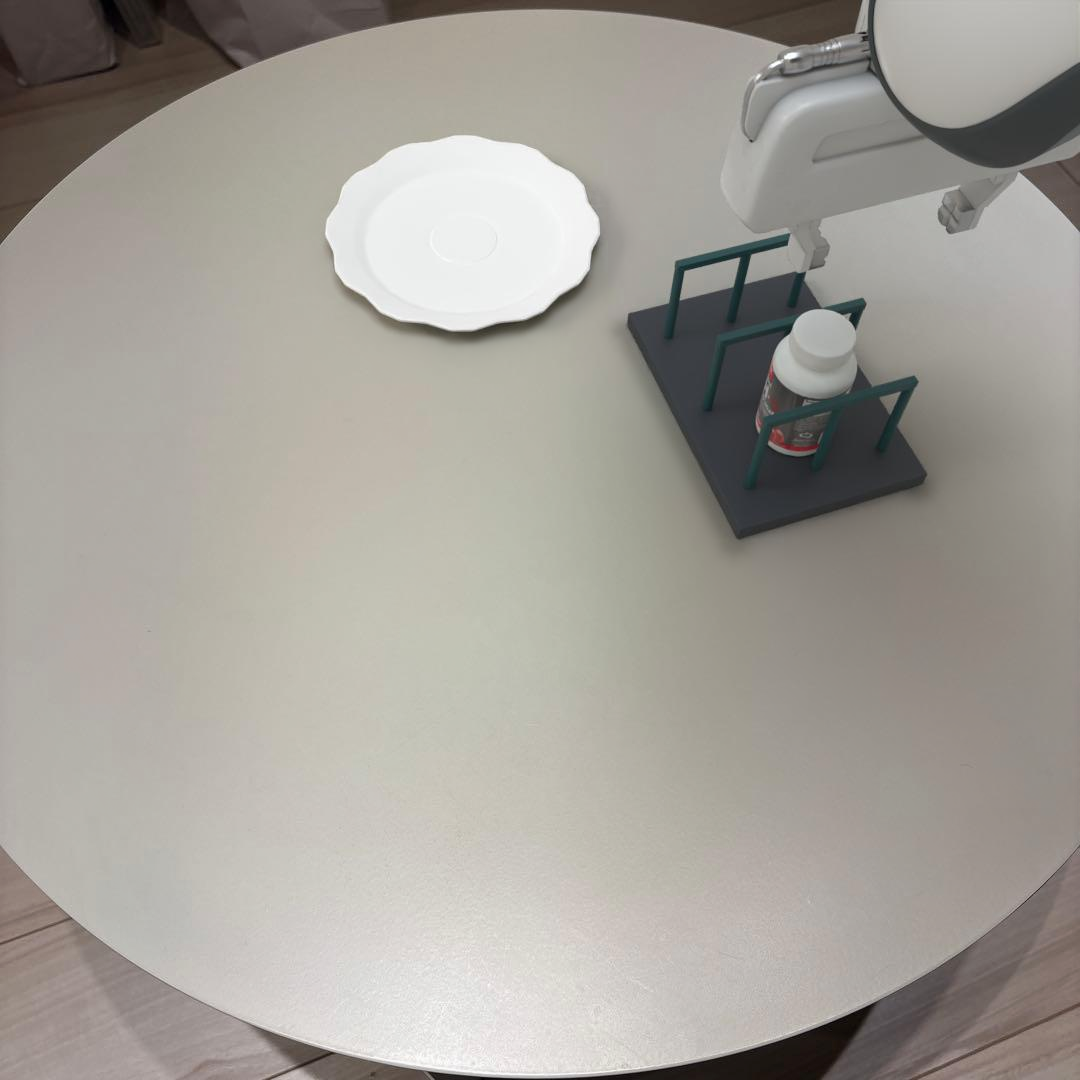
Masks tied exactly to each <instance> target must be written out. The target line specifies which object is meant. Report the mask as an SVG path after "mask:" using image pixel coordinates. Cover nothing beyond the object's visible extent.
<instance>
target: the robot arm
mask: <svg viewBox="0 0 1080 1080" xmlns="http://www.w3.org/2000/svg"><path fill="white" fill-rule="evenodd" d="M740 106H741V107H740V111H739V114H738V117H737V120H736V122H735V125H734V127H733V131H732V134H731V137H730V140H729V143H728V147H727V150H726V154H725V157H724V161H723V164H722V169H721V174H720V178H719V179H720V181H719V184H720V189H721V192H722V194H723V196H724V199H725V200H726V202H727V204H728V206H729V207H730V209H731V210H732V212H733V213H734V214H735V216H736V217H737V219H738V220H739V221H740V222H741V224H742V225H744V226H745V227H746V228H747V229H748V230H749V231H750V232H752V233H754V234H757V235H759V234H765V233H770V232H773V231H777V230H782V229H786V228H787V229H788V231H789V233H791V234H790V238H789V242H788V246H786V257H787V260H788V261H789V263H790V264H791V266H792V268H793V269H794V272H795V271H796V272H797V273H802V272H806V271H807V272H809V271H812V270H817V269H820V268H823V267H825V266H826V262H827V261H826V260H825V259H826V258H827V257H828V256H829V252H830V248H831V245H830V243H829V242H828V241H827V239H826V237H823V236H821V234H822V231H821V230H820V229H819V228H820V227H821V223H822V220H823V219H826V218H830V217H835V216H839V215H843V214H847V213H851V212H855V211H859V210H863V209H868V208H872V207H877V206H880V205H884V204H887V203H891V202H896V201H900V200H904V199H907V198H912V197H916V196H920V195H925V194H929V193H932V192H937V191H940V190H941V191H942V190H945V189H950V188H952V187H957V186H959V187H958V188H957V189H953V190H950V191H946V192H945V193H944V195H943V197H942V200H941V206H940V207H938V210H937V220H938V222H939V223H940V225H941V226H944V227H945V231H946V233H947V234H948V235H954V234H958V233H962V232H967V231H971V230H974V229H976V228H977V226H978V224H979V221H980V220H981V217H982V215H983V212H984V210H985V208H987V207H989V205H991V204H992V203H993V202H994V201H995V200H996V199H997V198H998V197H999V196H1000V195H1001V194H1002V193H1003V192H1004V191H1005V190H1007V189H1008V188H1009V186H1010V185H1011V184H1013V182H1015V181H1016V178H1017V177H1018V174H1019V172H1020V171H1023V170H1026V169H1030V168H1035V167H1039V166H1042V165H1046V164H1051V163H1055V162H1058V161H1063V160H1068V159H1072V158H1074V157H1075V156H1076V155H1078V154H1079V153H1080V0H862V2H861V6H860V9H859V13H858V17H857V21H856V23H855V27H854V33H850V34H845V35H840V36H837V37H833V38H830V39H828V40H825V41H822V42H818V43H813V44H799V45H793V46H791V47H787V48H785V49H783V50H782V51H781V50H780V52H779V53H778V54H777V57H776V59H775V60H773V61H772V62H770V63H768V64H767V65H765V66H764V67H763V68H762V69H760V70H759V71H758V72H757V73H756V74H754V75H752V76H751V77H750V78H749V79H748V81H747V82H746V84H745V88H744V90H743V95H742V101H741V105H740ZM807 272H806V273H807Z"/></svg>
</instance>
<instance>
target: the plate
mask: <svg viewBox="0 0 1080 1080" xmlns="http://www.w3.org/2000/svg"><path fill="white" fill-rule="evenodd" d="M324 233H325V234H324V236H325V239H326V241H327V243H328V245H329V247H330V248H331V249H330V250H332V254H333V263H334V265H333V266H334V271H335V274H336V275H337V276H338V278H339V279H340V281H341V283H342V284H343V285H344V286H345V287H346V288H348V289H350V290H352V291H353V292H355V293H357V294H359V295H360V296H362V297H364V298H365V299H366V300H367V301H368V302H369V303H370V304H371V305H372V306H373V308H375V309H376V311H378V312H379V314H382V315H384V316H386V317H389V318H391V319H393V320H396V321H398V322H402V323H414V324H424V325H429V326H431V327H435V328H438V329H442V330H445V331H447V332H476V331H479V330H482V329H485V328H488V327H492V326H494V325H495V326H496V325H498V324H505V323H506V324H507V323H515V322H524V321H527V320H530V319H531V318H534V317H536V316H538V315H541V314H542V313H545V312H546V311H547V310H548V309H549V307H550V306H551V305H553V304H554V303H555V301H556V300H557V299H558V298H559V297H561V296H562V295H564V294H566V293H568V292H570V291H571V290H573V289H574V288H576V287H578V286H580V284H581V283H582V282H583V280H584V279H585V277H586V276H587V275H588V273H589V272H590V271H591V270H590V269H591V260H592V253H593V250H594V249H595V246H596V244H597V242H598V241H599V238H600V236H601V225H600V217H599V216H598V214H597V213H596V211H595V210H594V209H593V207H592V205H591V204H590V202H589V199H588V194H587V192H586V188H585V185H584V183H582V181H581V180H580V179H579V178H578V177H577V176H576V175H575V174H574V173H573V172H572V171H569V170H568V169H566V168H564V167H562V166H560V165H558V164H556V163H554V162H553V161H551V159H549V158H548V157H547V156H546V155H544V154H543V153H542V152H541V151H540V150H538V149H536V148H533V147H531V146H528V145H525V144H523V143H518V142H509V141H506V142H505V141H497V140H493V139H489V138H486V137H483V136H478V135H471V134H470V135H469V134H468V135H467V134H466V135H465V134H464V135H462V134H461V135H460V134H459V135H457V134H455V135H450V136H447V137H443V138H440V139H436V140H432V141H423V142H411V143H406V144H403V145H401V146H398V147H395V148H393V149H390V150H389V151H387V152H386V153H385V154H384V155H382V156H381V157H380V158H379V159H378V160H377V161H376V162H374V163H373V164H371V165H369V166H366V167H365V168H363V169H361V170H359V171H356V172H354V173H353V174H352V175H351V177H350V178H349V179H348V180H346V181H345V183H344V184H343V185H342V187H341V191H340V194H339V197H338V201H337V204H336V205H335V206H334V208H333V210H332V211H331V213H330V214H329V215H328V216H327V218H326V223H325V232H324Z"/></svg>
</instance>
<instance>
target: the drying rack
mask: <svg viewBox="0 0 1080 1080" xmlns="http://www.w3.org/2000/svg"><path fill="white" fill-rule="evenodd" d="M790 234H791V232H788V233H784V234H779V235H775V236H772V237H768V238H763V239H759V240H755V241H751V242H746V243H742V244H738V245H735V246H731V247H726V248H722V249H718V250H714V251H710V252H706V253H702V254H698V255H693V256H689V257H685V258H682V259H677V260H675V261H674V271H673V276H672V283H671V289H670V294H669V301H668V303H664V304H660V305H655V306H652V307H648V308H644V309H641V310H637V311H632V312H629V313H628V314H627V322H626V324H627V327H628V329H629V331H630V333H631V334H632V337H633V339H634V341H635V343H636V344H637V346H638V348H639V350H640V352H641V354H642V356H643V358H644V360H645V362H646V364H647V366H648V367H649V370H650V371H651V374H652V375H653V378H654V380H655V381H656V383H657V385H658V387H659V389H660V390H661V393H662V395H663V397H664V399H665V401H666V402H667V404H668V406H669V409H670V410H671V412H672V414H673V417H674V418H675V420H676V422H677V424H678V426H679V428H680V430H681V432H682V434H683V436H684V438H685V440H686V441H687V444H688V445H689V447H690V449H691V452H692V453H693V455H694V457H695V459H696V461H697V463H698V465H699V467H700V469H701V470H702V473H703V475H704V477H705V478H706V480H707V482H708V484H709V486H710V488H711V490H712V492H713V494H714V496H715V498H716V500H717V502H718V504H719V505H720V507H721V510H722V511H723V514H724V516H725V517H726V519H727V521H728V523H729V525H730V527H731V529H732V531H733V533H734V535H735V537H736V539H741V538H745V537H749V536H752V535H755V534H758V533H761V532H765V531H768V530H772V529H775V528H778V527H782V526H785V525H788V524H792V523H795V522H796V523H797V522H799V521H803V520H805V519H809V518H813V517H815V516H819V515H822V514H826V513H830V512H832V511H835V510H839V509H843V508H846V507H849V506H852V505H856V504H860V503H864V502H866V501H870V500H873V499H876V498H879V497H883V496H886V495H890V494H893V493H896V492H900V491H903V490H907V489H909V488H913V487H917V486H920V485H923V484H924V482H925V480H926V479H927V477H928V472H927V471H926V469H925V467H924V466H923V464H922V463H921V462H920V460H919V458H918V456H917V455H916V453H915V452H914V450H913V449H912V447H911V445H910V444H909V442H908V441H907V439H906V438H905V436H904V434H903V433H902V431H901V430H900V427H898V425H899V423H900V421H901V419H902V417H903V415H904V413H905V410H906V408H907V406H908V404H909V403H910V400H911V398H912V395H913V393H914V391H915V389H916V388H917V386H918V385H919V380H918V378H917V376H915V375H910V376H906V377H902V378H899V379H896V380H893V381H892V380H891V381H889V382H885V383H881V384H878V385H874V386H872V384H871V383H870V380H869V379H868V378H867V377H866V374H865V373H864V372H863V370H862V368H861V367H860V366H859V364H858V363H857V373H856V377H855V380H854V382H853V385H852V387H851V390H850V392H849V393H848V394H845V395H841V396H838V397H834V398H830V399H827V400H823V401H819V402H816V403H812V404H809V405H805V406H801V407H798V408H794V409H791V410H787V411H783V412H780V413H776V414H772V415H769V416H765V417H763V421H762V426H761V429H760V433H758V430H757V427H756V415H757V411H758V407H759V404H760V400H761V397H762V393H763V390H764V386H765V383H766V380H767V376H768V373H769V369H770V366H771V362H772V359H773V355H774V352H775V350H776V348H777V346H778V344H779V343H780V342H781V341H782V340H783V339H784V338H785V337H786V336H788V335H789V334H790V333H791V331H792V328H793V325H794V323H795V321H796V320H797V318H798V317H799V316H801V315H802V314H803V313H805V312H808V311H811V310H816V309H825V310H831V311H834V312H837V313H839V314H841V315H843V316H846V315H849V314H850V315H849V317H848V320H849V321H850V322H851V323H852V325H853V326H854V328H855V331H856V332H857V329H858V326H859V325H860V321H861V318H862V316H863V313H864V310H866V307H867V304H868V303H867V301H866V299H864V297H859V298H855V299H852V300H847V301H844V302H843V301H842V302H840V303H836V304H831V305H829V306H824V307H822V306H821V304H820V303H819V301H818V299H817V298H816V296H815V295H814V293H813V292H812V290H811V288H810V287H809V286H808V283H807V282H806V281H805V279H806V276H807V272H808V271H806V272H802V273H797V272H796V271H795V270H794V271H792V272H788V273H784V274H779V275H776V276H772V277H768V278H764V279H760V280H756V281H753V282H747V283H746V280H747V275H748V271H749V266H750V262H751V259H752V255H755V254H756V255H757V254H760V253H763V252H768V251H771V250H776V249H780V248H784V247H787V246H788V242H789V238H790ZM735 259H739V261H738V266H737V269H736V270H737V271H736V275H735V279H734V284H733V286H732V287H728V288H725V289H719V290H716V291H712V292H708V293H704V294H701V295H697V296H692V297H688V298H684V299H681V294H682V289H683V284H684V278H685V272H687V271H691V270H695V269H699V268H703V267H707V266H712V265H714V264H718V263H719V264H720V263H724V262H727V261H731V260H735ZM680 299H681V300H680ZM897 393H899V395H898V398H897V399H896V402H895V404H894V405H893V409H892V410H891V412H889V411H888V410H887V408H886V406H885V404H884V403H883V401H882V400H881V398H884V397H886V396H890V395H894V394H897ZM829 411H831V414H830V416H829V419H828V421H827V424H826V427H825V429H824V432H823V434H822V437H821V440H820V442H819V445H818V448H817V450H816V453H813V454H810V455H806V456H791V455H786V454H783V453H780V452H778V451H776V450H774V449H773V448H771V447H770V446H769V445H768V442H769V439H770V435H771V432H772V429H773V427H776V426H779V425H783V424H786V423H790V422H794V421H797V420H801V419H804V418H808V417H812V416H815V415H819V414H822V413H826V412H829Z"/></svg>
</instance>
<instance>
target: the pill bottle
mask: <svg viewBox="0 0 1080 1080" xmlns="http://www.w3.org/2000/svg"><path fill="white" fill-rule="evenodd" d="M856 343H857V330H856V331H855V328H854V326H853V325H852V323H851V322H850V321H849V318H847V317H846V316H845V315H841V314H839V313H837V312H834V311H831V310H825V309H816V310H811V311H808V312H805V313H803V314H802V315H801V316H799V317H798V318H797V320H796V321H795V323H794V325H793V328H792V331H791V333H790V334H789V335H788V336H786V337H785V338H784V339H783V340H782V341H781V342H780V343H779V344H778V346H777V348H776V350H775V352H774V355H773V359H772V362H771V366H770V369H769V373H768V376H767V380H766V383H765V386H764V390H763V393H762V397H761V400H760V404H759V407H758V411H757V415H756V427H757V430H758V433H760V429H761V426H762V421H763V417H765V416H769V415H772V414H776V413H780V412H783V411H787V410H791V409H794V408H798V407H801V406H805V405H809V404H812V403H816V402H819V401H823V400H827V399H830V398H834V397H838V396H841V395H845V394H848V393H849V392H850V390H851V387H852V385H853V382H854V380H855V377H856V373H857V364H858V361H857V358H856V354H855V352H854V349H855V347H856ZM830 414H831V411H829V412H826V413H822V414H819V415H815V416H812V417H808V418H804V419H801V420H797V421H794V422H790V423H786V424H783V425H779V426H776V427H773V429H772V432H771V435H770V439H769V442H768V445H769V446H770V447H771V448H773V449H774V450H776V451H778V452H780V453H783V454H786V455H791V456H806V455H810V454H813V453H816V450H817V448H818V445H819V442H820V440H821V437H822V434H823V432H824V429H825V427H826V424H827V421H828V419H829V416H830Z"/></svg>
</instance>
